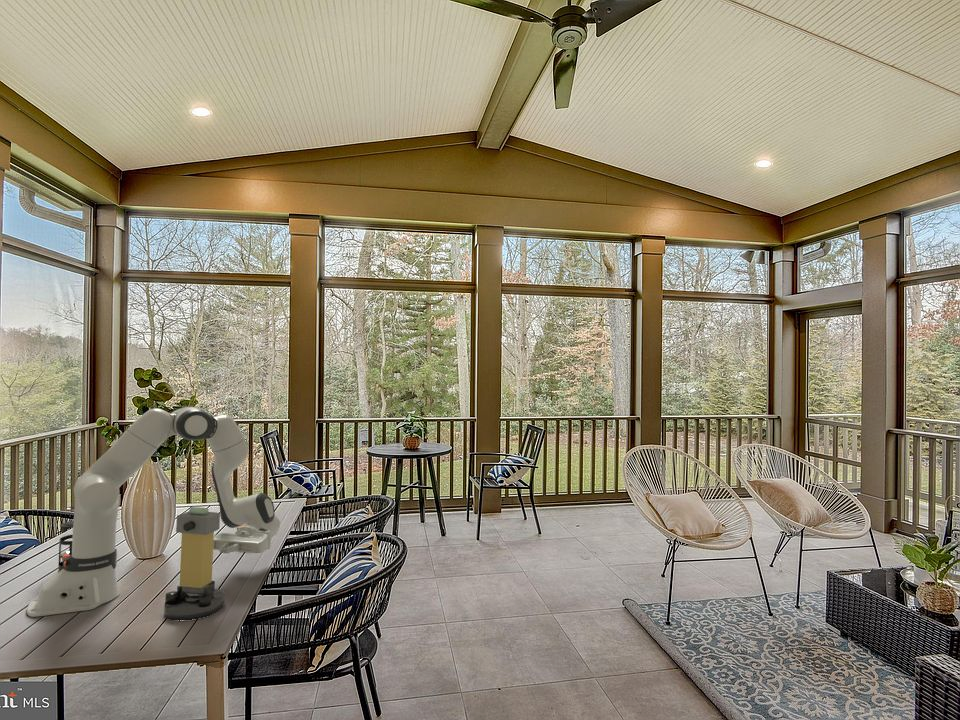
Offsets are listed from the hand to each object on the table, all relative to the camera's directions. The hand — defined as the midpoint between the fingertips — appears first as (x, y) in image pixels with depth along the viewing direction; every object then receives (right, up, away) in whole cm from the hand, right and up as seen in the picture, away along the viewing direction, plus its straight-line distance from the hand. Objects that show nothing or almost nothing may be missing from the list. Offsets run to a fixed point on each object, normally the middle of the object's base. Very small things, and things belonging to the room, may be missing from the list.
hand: (223, 550), depth 172 cm
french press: (-59, -12, +13) cm, 62 cm away
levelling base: (-2, -13, -13) cm, 18 cm away
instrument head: (-2, -8, -14) cm, 16 cm away
